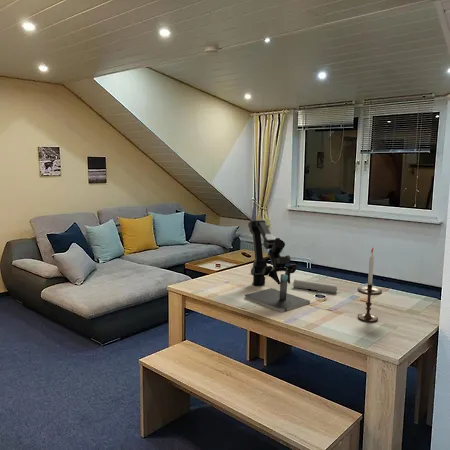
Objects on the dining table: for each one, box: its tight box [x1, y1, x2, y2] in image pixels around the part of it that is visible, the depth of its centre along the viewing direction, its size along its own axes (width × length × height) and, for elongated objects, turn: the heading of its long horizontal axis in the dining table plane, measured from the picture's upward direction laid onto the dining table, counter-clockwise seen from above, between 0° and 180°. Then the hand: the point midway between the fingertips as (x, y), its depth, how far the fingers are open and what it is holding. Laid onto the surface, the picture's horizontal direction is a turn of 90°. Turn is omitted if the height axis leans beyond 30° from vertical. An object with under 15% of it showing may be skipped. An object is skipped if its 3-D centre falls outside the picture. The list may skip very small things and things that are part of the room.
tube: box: [292, 278, 338, 294], centre depth 243 cm, size 5×5×25 cm
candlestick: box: [356, 247, 383, 323], centre depth 197 cm, size 11×11×35 cm
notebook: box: [244, 287, 311, 313], centre depth 224 cm, size 22×2×28 cm
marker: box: [279, 273, 288, 300], centre depth 220 cm, size 4×4×13 cm
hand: (284, 283), depth 218 cm, fingers open, 5 cm apart
